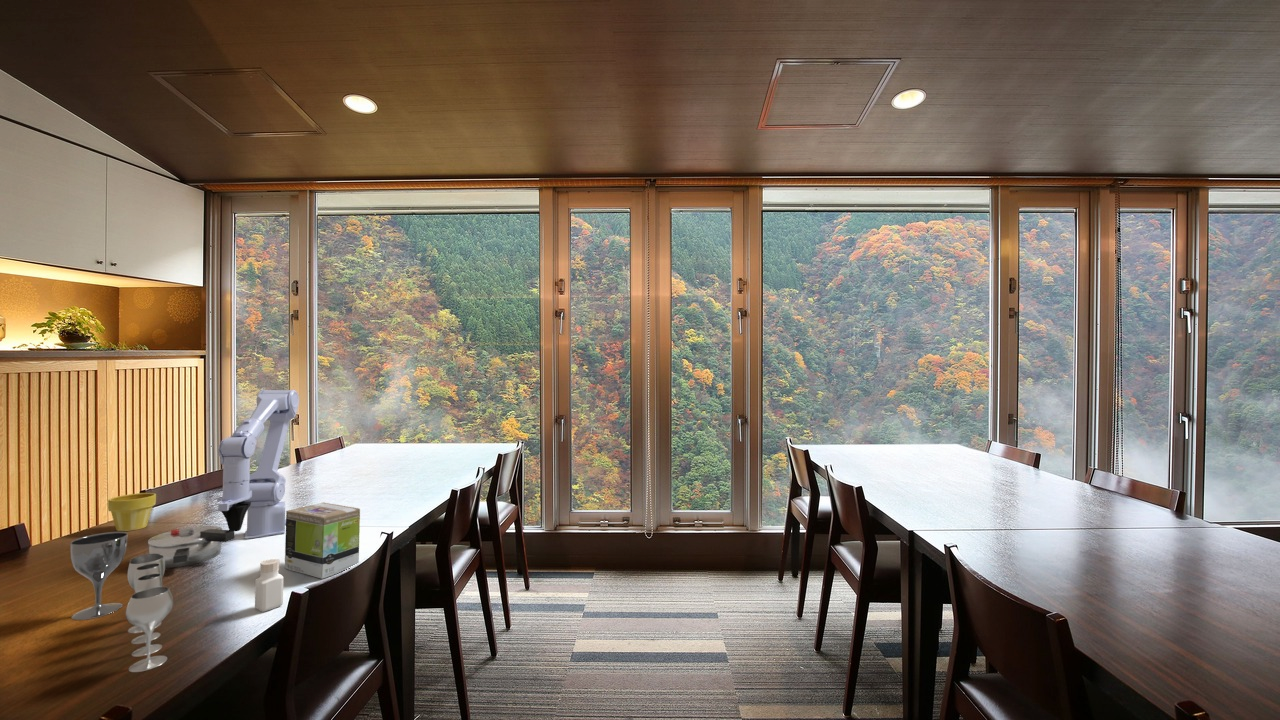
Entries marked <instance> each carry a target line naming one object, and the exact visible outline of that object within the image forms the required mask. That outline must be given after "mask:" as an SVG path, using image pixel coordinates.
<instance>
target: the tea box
mask: <svg viewBox="0 0 1280 720" xmlns="http://www.w3.org/2000/svg"><path fill="white" fill-rule="evenodd" d="M285 520H286V526H285V543H284V548H285V549H284V569H286V570H289V571H292V572H297V573H301V574H304V575H308V576H311V577H315V578H318V579H321V580H323V579H326V578H330V577H331V576H334V574H335V575H337V573H338V574H340V573H342V572H341V571H343V570H345V569H347V568H349V567H351V566H353V565H355V564H357V563H359V561H360V533H361V532H360V530H361V529H360V528H361V526H360V523H361V521H360V520H361V508H359V507H354V506H348V505H347V506H346V505H341V504H335V503H330V502H319V503H315V504H310V505H307V506H301V507H297V508H293V509H289V510H285ZM339 572H340V573H339ZM343 572H344V571H343Z"/></svg>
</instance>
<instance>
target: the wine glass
mask: <svg viewBox="0 0 1280 720" xmlns="http://www.w3.org/2000/svg"><path fill="white" fill-rule="evenodd" d="M127 547H128V532H127V531H108V532H102V533H101V532H100V533H94V534H90V535H86V536H82V537H78V538H77V539H74V540H72V541H70V559H71V563H72V567H73V569H74V570H75V571H76V572H77V573H78V574H80V575H82V576H83V577H85V578H86V579H88V580H89V581H90V583H92V585H93V588H94V593H95V594H94V595H95V596H94V597H95V598H94V599H95V601H94V605H93V606H90V607H87V608H85V609H82V610H80V611H77V612H76V613H74V614H73V615H72V616H71V619H72V620H74V621H85V620H86V621H87V620H92V619H97V618H101V617H105V616H108V615H111V614H112V612H113V613H115V612H117V611H119V610H120V609H119V608H121V607H122V608H123V606H124V605H123V604H122V603H119V602H110V603H103V604H102V591H103V586H104V582H105V581H106V580H107V578H108V577H109V575H111V573H112V572H113V571H114V570H115V569H117V568H118V566H120V564H121V563H122V562H123V560H124V557H125V554H126V550H127ZM122 608H121V609H122ZM118 609H119V610H118ZM114 611H115V612H114ZM110 613H111V614H110Z"/></svg>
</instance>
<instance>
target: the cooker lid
mask: <svg viewBox="0 0 1280 720" xmlns="http://www.w3.org/2000/svg"><path fill="white" fill-rule="evenodd" d="M233 540H235V531H234V530H229V529H223V528H222V527H220V526H215V525H200V526H191V527H184V528H176V529H175V528H174V529H171V530H170V531H167V532H162V533H159V534H157V535H154V536H152V537H150V538H149V539H148V540H147V544H148V547H149V546H151V547H176V546H184V545H190V544H195V543H199V542H203V541H216V542H221V543H227V542H230V541H233Z"/></svg>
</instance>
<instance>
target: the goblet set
mask: <svg viewBox="0 0 1280 720" xmlns="http://www.w3.org/2000/svg"><path fill="white" fill-rule="evenodd" d="M165 570H166V568H165V560H164V556H163V555H160V554H157V553H154V554H149V553H147V554H146V553H145V554H141V555H138V556H135V557H133V558H131V559H130V561H129V563H128V567H127V574H126V575H127V581H128V583H129V586H130V587H131V588H132V589H133V590H134V593H133V594H132V595H131V597H130V598H129V601H128V603H127V606H126V609H125V617H126V620H127V622H128V623H130V624H131V625H133V626H131V627H129V629H127V633H129V634H139V633H140V634H141V633H144V634H141V635H139V636H136V637H134V638H133V639H132V640H131V641H130V643H131V644H132V645H140V644H145V646H142V647H139V648H137V649H136V650H134V651H133V652H132V653H131V656H132V657H135V658H136V657H144V656H146V658H143V659H141V660H139V661H136V662H135V663H133V664H131V665H130V666H129V668H128V671H129V672H131V673H139V672H144V671H149V670H152V669H154V668H157V667H159V666H161V665H163V664H165V662H167V660H168V657H167V656H166V655H154V656H151V654H154V653H156V652H158V651H159V650H161V649H162V648H163V645H162V644H159V643H155V644H151V643H152V641H153V640H156V639H159V637H161V633H160V632H154V631H155V629H156V628H158V627H160V626H161V625H162V621H163V620H164V619H165V618H166V617H167V616H168V615H169V613H170V612H171V611H172V609H173V606H174V598H173V594H172V593H171V590H170V588H169V587H167V586H163V580H162V579H163V577H164V574H165V572H166V571H165Z"/></svg>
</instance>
